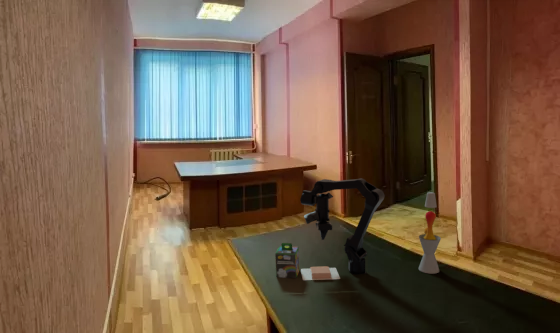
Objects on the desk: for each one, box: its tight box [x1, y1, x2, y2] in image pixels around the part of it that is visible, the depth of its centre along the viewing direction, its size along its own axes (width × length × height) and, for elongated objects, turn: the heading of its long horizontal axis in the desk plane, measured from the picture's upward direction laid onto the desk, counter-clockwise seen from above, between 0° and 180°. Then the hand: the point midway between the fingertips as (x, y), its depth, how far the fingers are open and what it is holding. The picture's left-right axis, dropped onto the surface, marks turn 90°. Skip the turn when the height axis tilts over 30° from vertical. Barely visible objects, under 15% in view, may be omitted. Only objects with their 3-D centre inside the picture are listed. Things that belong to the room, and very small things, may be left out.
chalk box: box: [274, 242, 301, 279], centre depth 167 cm, size 9×9×15 cm
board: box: [300, 267, 341, 281], centre depth 167 cm, size 16×12×1 cm
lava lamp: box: [418, 191, 441, 275], centre depth 167 cm, size 9×9×35 cm
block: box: [309, 265, 331, 279], centre depth 165 cm, size 8×3×7 cm
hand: (322, 239), depth 176 cm, fingers closed
